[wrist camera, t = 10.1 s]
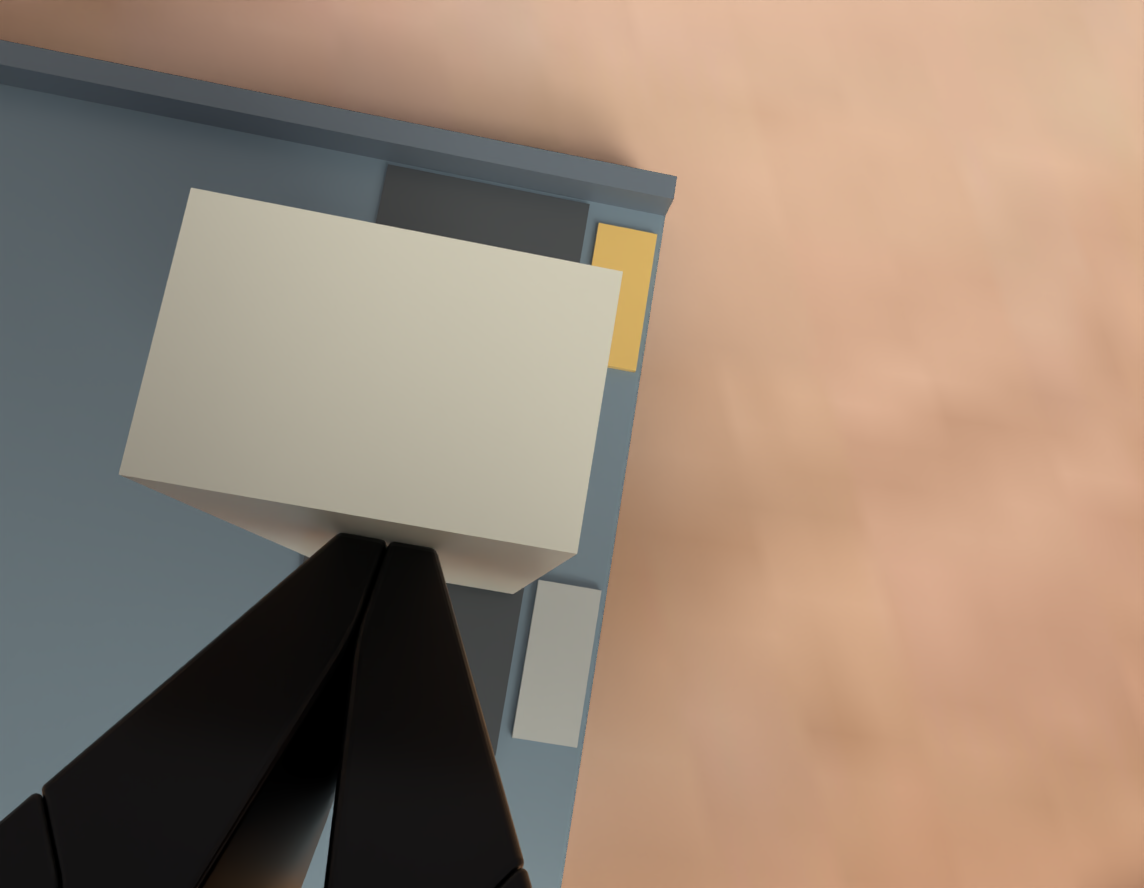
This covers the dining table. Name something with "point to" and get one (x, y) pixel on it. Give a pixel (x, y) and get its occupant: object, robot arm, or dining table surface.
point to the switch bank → (117, 364)
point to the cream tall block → (375, 387)
